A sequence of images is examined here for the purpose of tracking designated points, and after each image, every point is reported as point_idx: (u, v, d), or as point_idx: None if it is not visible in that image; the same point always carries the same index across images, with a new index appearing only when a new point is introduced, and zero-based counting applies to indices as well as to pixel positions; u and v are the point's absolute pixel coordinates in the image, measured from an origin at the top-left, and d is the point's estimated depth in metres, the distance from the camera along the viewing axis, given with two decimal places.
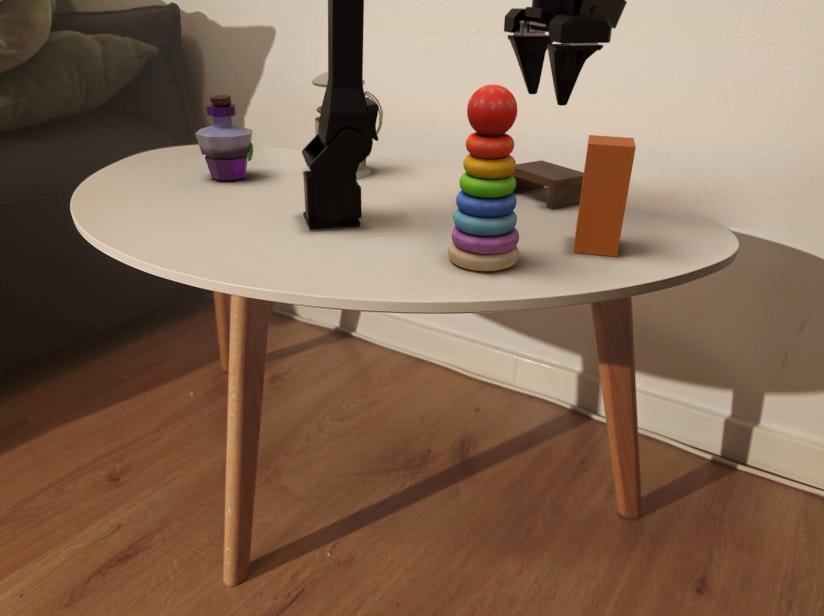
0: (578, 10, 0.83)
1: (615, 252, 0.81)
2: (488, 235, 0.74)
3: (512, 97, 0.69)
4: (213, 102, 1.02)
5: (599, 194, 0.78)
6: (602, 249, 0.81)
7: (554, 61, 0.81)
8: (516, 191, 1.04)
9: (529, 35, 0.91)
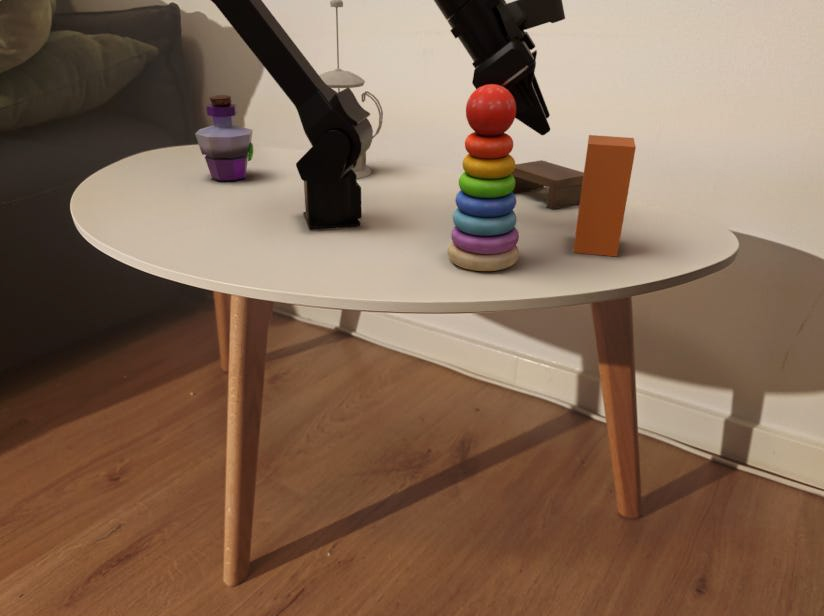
0: (509, 37, 0.74)
1: (615, 252, 0.81)
2: (488, 235, 0.74)
3: (511, 97, 0.69)
4: (213, 102, 1.02)
5: (599, 194, 0.78)
6: (602, 249, 0.81)
7: None
8: (516, 191, 1.04)
9: None
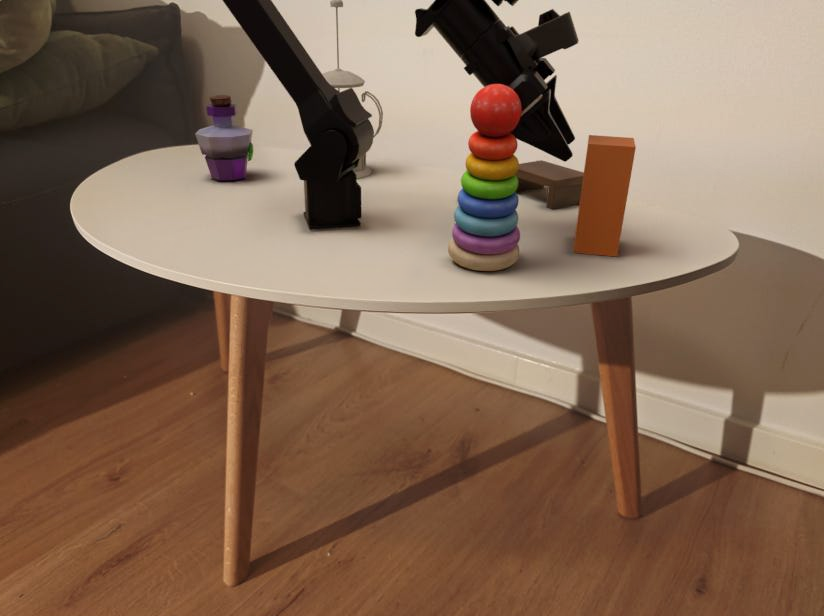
0: (523, 68, 0.74)
1: (615, 252, 0.81)
2: (489, 235, 0.74)
3: (516, 98, 0.68)
4: (213, 102, 1.02)
5: (599, 194, 0.78)
6: (602, 249, 0.81)
7: (519, 139, 0.74)
8: (516, 191, 1.04)
9: None
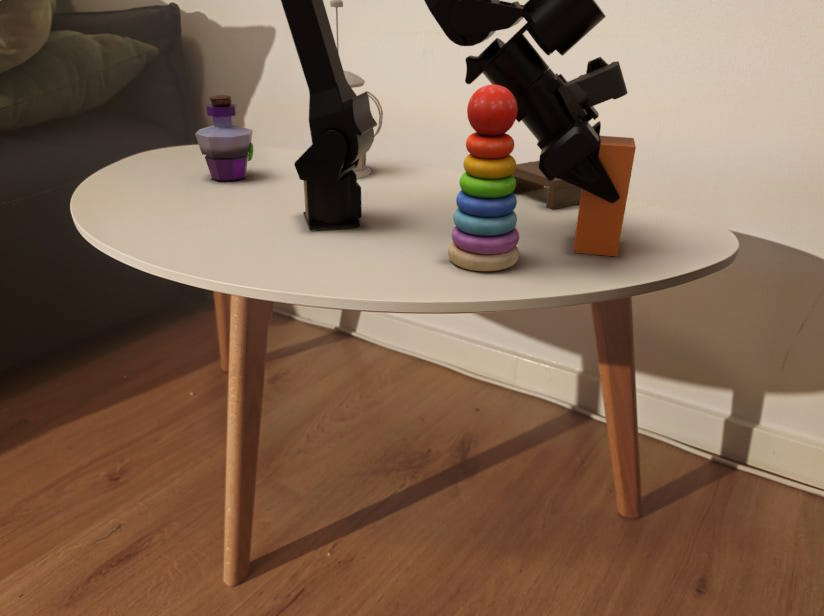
0: (572, 116, 0.75)
1: (615, 252, 0.81)
2: (489, 235, 0.74)
3: (512, 97, 0.69)
4: (213, 102, 1.02)
5: None
6: (602, 249, 0.81)
7: (569, 182, 0.77)
8: (516, 191, 1.04)
9: None
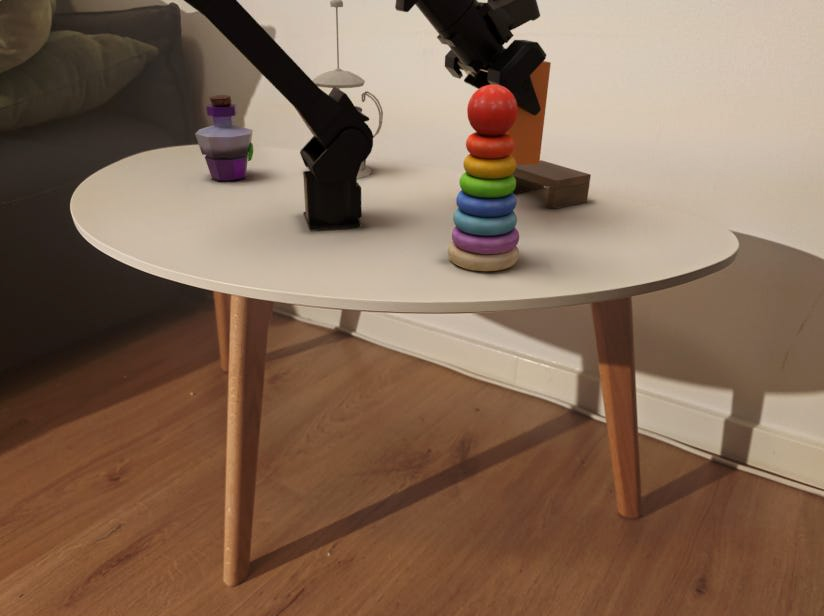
0: (501, 38, 0.83)
1: (538, 160, 0.93)
2: (489, 235, 0.74)
3: (512, 97, 0.69)
4: (213, 102, 1.02)
5: None
6: (528, 159, 0.92)
7: None
8: (516, 191, 1.04)
9: (481, 69, 0.91)
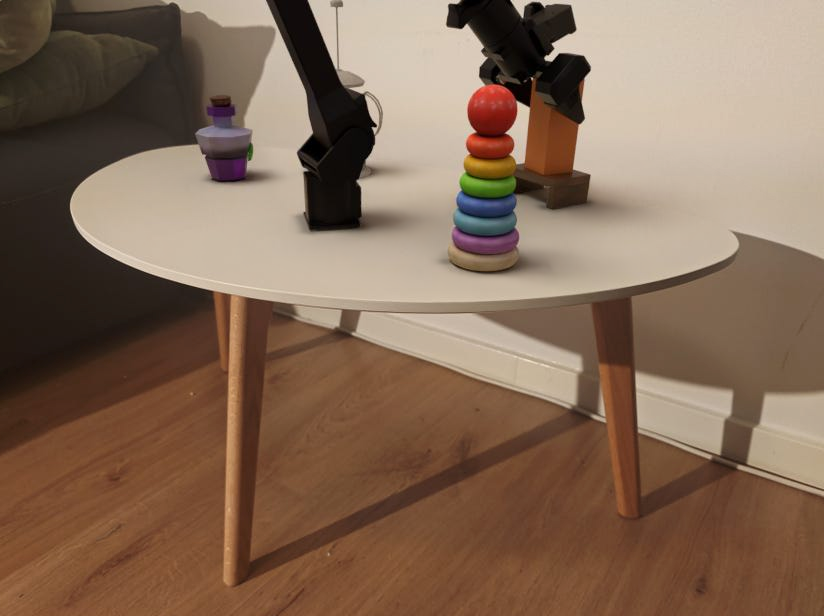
0: (543, 51, 0.89)
1: (571, 168, 0.99)
2: (489, 235, 0.74)
3: (512, 97, 0.69)
4: (213, 102, 1.02)
5: (561, 121, 0.95)
6: (563, 168, 0.99)
7: (558, 110, 0.90)
8: (516, 191, 1.04)
9: None
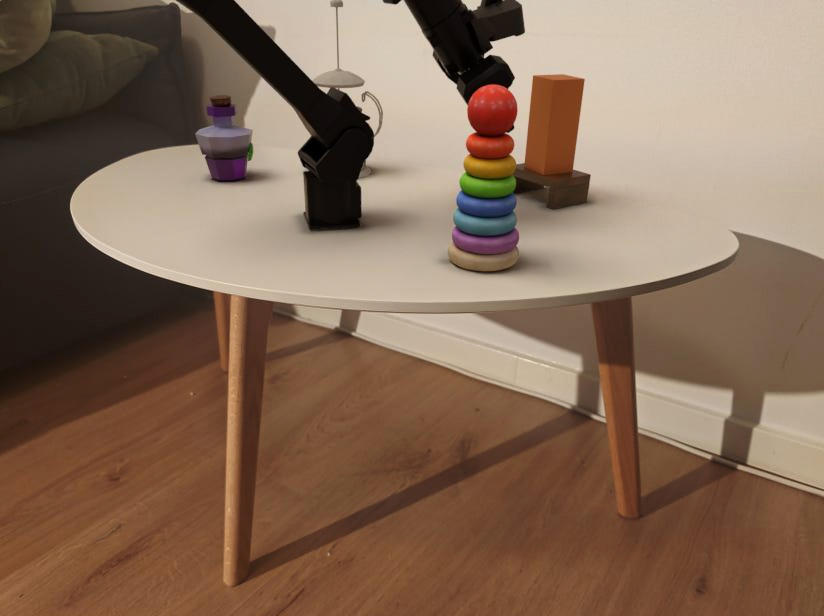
0: (480, 47, 0.84)
1: (571, 168, 0.99)
2: (489, 235, 0.74)
3: (512, 97, 0.69)
4: (213, 102, 1.02)
5: (561, 121, 0.95)
6: (563, 168, 0.99)
7: None
8: (516, 191, 1.04)
9: None
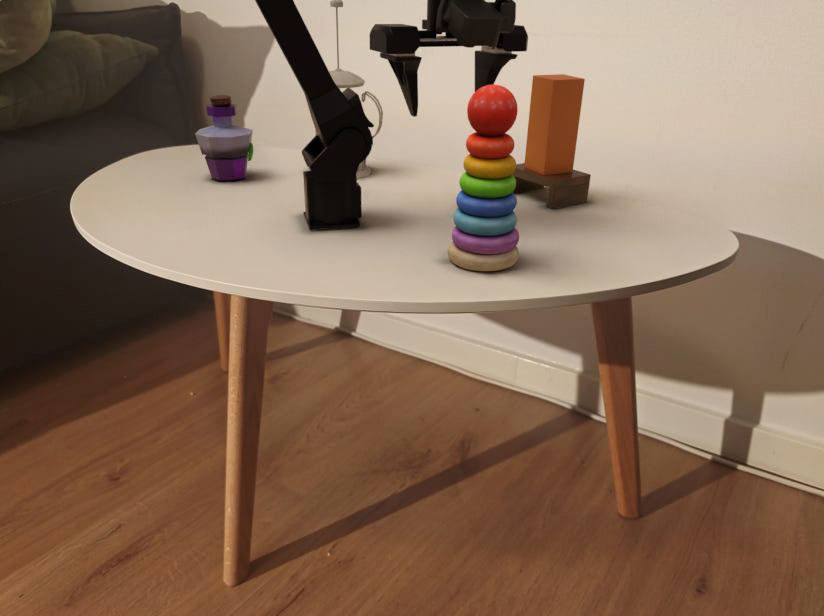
0: None
1: (571, 168, 0.99)
2: (489, 235, 0.74)
3: (512, 97, 0.69)
4: (213, 102, 1.02)
5: (561, 121, 0.95)
6: (563, 168, 0.99)
7: None
8: (516, 191, 1.04)
9: (486, 51, 0.87)
